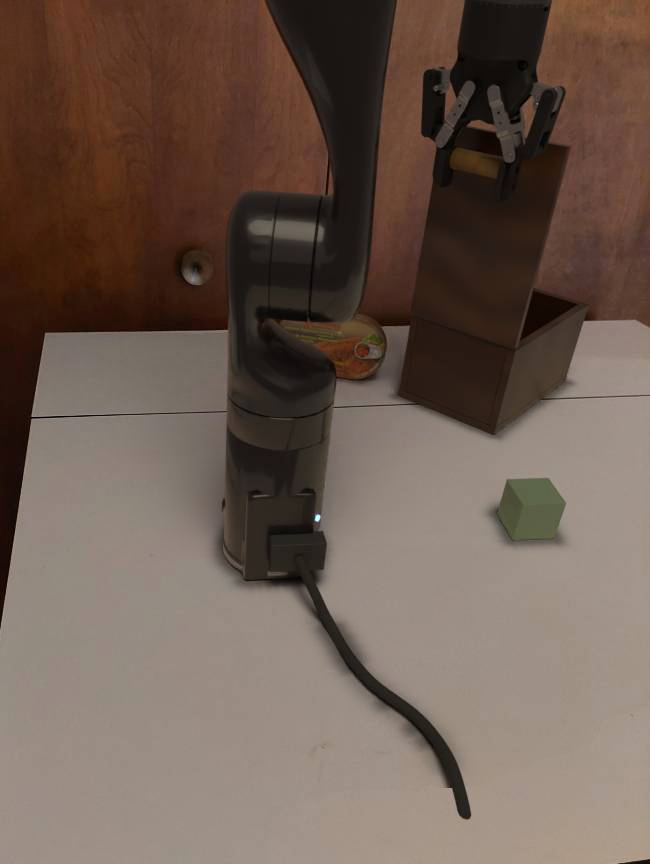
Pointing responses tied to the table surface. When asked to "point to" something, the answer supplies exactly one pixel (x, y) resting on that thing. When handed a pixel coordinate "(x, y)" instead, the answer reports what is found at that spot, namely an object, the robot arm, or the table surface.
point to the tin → (346, 343)
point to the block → (531, 508)
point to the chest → (491, 364)
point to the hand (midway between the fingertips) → (471, 192)
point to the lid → (486, 239)
